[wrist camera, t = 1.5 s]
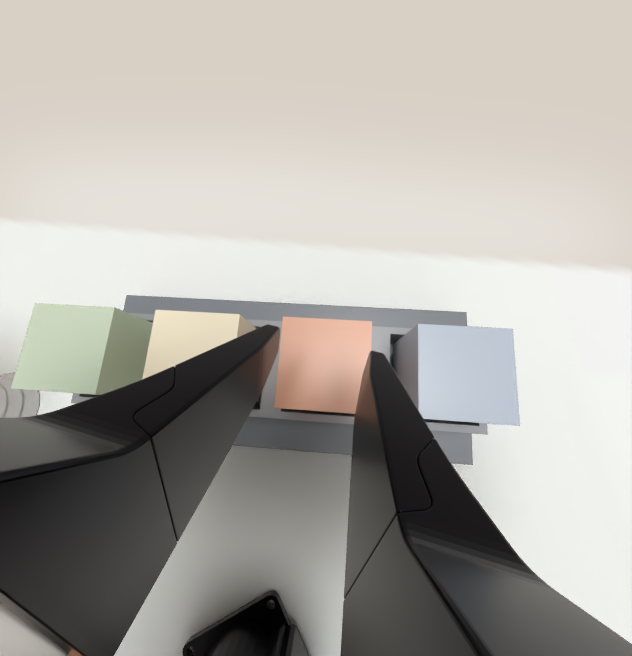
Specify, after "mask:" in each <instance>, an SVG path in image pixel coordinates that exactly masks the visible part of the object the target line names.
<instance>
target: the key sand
mask: <svg viewBox="0 0 632 656" xmlns="http://www.w3.org/2000/svg"><path fill="white" fill-rule="evenodd" d="M255 329H256V328H255V327H254V326H253V325H252V324H250V323H249V322H248V321H247V320H246V319H245V318H244V317H242V316H241V315H240V314H227V313H208V312H190V311H171V310H155V315H154V320H153V326H152V331H151V336H150V341H149V347H148V352H147V357H146V362H145V368H144V373H143V378H142V379H144V378H147V377H149V376H151V375H154V374H156V373H159V372H161V371H163V370H165V369H168V368H170V367H172V366H174V367H175V365H177V364H179V363H181V362H184V361H186V360H188V359H190V358H192V357H195V356H197V355H199V354H201V353H204V352H206V351H208V350H210V349H213V348H215V347H217V346H219V345H222V344H224V343H226V342H228V341H230V340H233V339H235V338H237V337H239V336H242V335H244V334H246V333H248V332H251V331H253V330H255ZM257 402H259V399H258V400H257Z"/></svg>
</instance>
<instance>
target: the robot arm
mask: <svg viewBox="0 0 632 656" xmlns="http://www.w3.org/2000/svg"><path fill="white" fill-rule="evenodd" d="M279 340H280V328H279V327H278V326H274V325H270V324H266V325H264V326H262V327H260V328H257V329H255V330H253V331H251V332H248V333H246V334H244V335H242V336H239V337H237V338H235V339H233V340H230V341H228V342H226V343H224V344H222V345H219V346H217V347H215V348H213V349H210V350H208V351H206V352H204V353H201V354H199V355H197V356H195V357H192V358H190V359H188V360H186V361H184V362H181V363H179V364H177V365H175V367H174V366H172V367H170V368H168V369H165V370H163V371H161V372H159V373H156V374H154V375H151V376H149V377H147V378H144V379H142V380H139V381H137V382H134V383H132V384H129V385H126V386H124V387H121V388H118V389H116V390H113V391H110V392H107V393H104V394H102V395H99V396H96V397H93V398H91V399H88V400H85V401H82V402H79V403H77V404H74V405H71V406H68V407H66V408H63V409H60V410H57V411H54V412H50V413H46V414H42V415H36V416H30V417H18V418H0V656H114V654H115V652H116V651H117V649H118V647H119V645H120V644H121V642H122V640H123V638H124V637H125V635H126V633H127V631H128V629H129V628H130V626H131V624H132V622H133V621H134V619H135V617H136V615H137V613H138V612H139V610H140V608H141V606H142V605H143V603H144V601H145V599H146V597H147V596H148V594H149V592H150V590H151V589H152V587H153V585H154V583H155V582H156V580H157V578H158V576H159V574H160V573H161V571H162V569H163V567H164V566H165V564H166V562H167V560H168V558H169V557H170V555H171V553H172V551H173V550H174V548H175V546H176V544H177V541H178V540H179V539H180V537H181V535H182V533H183V532H184V530H185V528H186V526H187V524H188V523H189V521H190V519H191V517H192V516H193V514H194V512H195V510H196V509H197V507H198V505H199V503H200V501H201V500H202V498H203V496H204V494H205V493H206V491H207V489H208V487H209V486H210V484H211V482H212V480H213V478H214V477H215V475H216V473H217V471H218V470H219V468H220V466H221V464H222V462H223V461H224V459H225V457H226V455H227V454H228V452H229V450H230V448H231V447H232V445H233V443H234V441H235V439H236V438H237V436H238V434H239V432H240V431H241V429H242V427H243V425H244V423H245V422H246V420H247V418H248V416H249V415H250V413H251V411H252V409H253V408H254V406H255V404H256V402H257V400H258V399H259V397H260V395H261V393H262V390H263V388H264V386H265V383H266V381H267V378H268V376H269V373H270V371H271V368H272V366H273V364H274V361H275V359H276V356H277V353H278V349H279ZM434 438H435V437H434V435H433V434H432V432H431V430H430V429H429V427H428V425H427V424H426V422H425V420H424V419H423V417H422V415H421V414H420V412H419V410H418V409H417V407H416V405H415V404H414V402H413V401H412V399H411V397H410V396H409V394H408V392H407V391H406V389H405V387H404V386H403V384H402V382H401V381H400V379H399V377H398V376H397V374H396V372H395V371H394V369H393V368H392V366H391V364H390V363H389V361H388V359H387V358H386V356H385V354H384V353H381V352H377V351H373V350H372V351H370V353H369V355H368V358H367V362H366V365H365V368H364V371H363V375H362V380H361V385H360V390H359V396H358V401H357V406H356V411H355V418H354V428H353V445H352V463H351V481H350V499H349V517H348V535H347V553H346V570H345V588H344V599H345V600H344V605H343V623H342V641H341V656H632V644H631V643H629V642H628V641H627V640H625V639H624V638H622V637H621V636H619V635H618V634H617V633H615V632H614V631H612V630H611V629H610V628H608V627H607V626H605V625H604V624H602V623H601V622H600V621H598V620H597V619H595V618H594V617H592V616H591V615H590V614H588V613H587V612H585V611H584V610H582V609H581V608H580V607H578V606H577V605H575V604H574V603H573V602H571V601H570V600H568V599H567V598H565V597H564V596H563V595H561V594H560V593H558V592H557V591H555V590H554V589H553V588H551V587H550V586H549V585H547V584H546V583H545V582H544V581H543V580H542V579H540V578H539V577H538V576H537V575H536V574H535V573H534V572H533V571H532V570H531V569H530V568H529V567H528V566H527V565H526V564H525V563H524V561H523V560H522V559H521V558H520V557H519V556H518V554H517V553H516V552H515V551H514V549H513V548H512V547H511V545H510V544H509V543H508V541H507V540H506V539H505V537H504V536H503V535H502V533H501V532H500V531H499V529H498V528H497V526H496V525H495V524H494V522H493V521H492V520H491V518H490V517H489V516H488V514H487V513H486V512H485V510H484V509H483V508H482V506H481V505H480V503H479V502H478V501H477V499H476V498H475V497H474V495H473V494H472V493H471V491H470V490H469V488H468V487H467V486H466V484H465V483H464V481H463V480H462V479H461V477H460V476H459V474H458V473H457V472H456V470H455V469H454V467H453V465H452V464H451V462H450V461H449V459H448V458H447V456H446V455H445V453H444V451H443V450H442V448H441V447H440V445H439V443H438V442H437V440H436V439H434ZM269 600H273V601H274V602H275V604H274V605H271V604H269V602H268V601H269ZM190 647H193V648H194V650H195V651H191V650H190ZM183 656H309V655H308V653H307V651H306V648H305V646H304V644H303V641H302V639H301V637H300V634H299V632H298V630H297V627H296V626H295V625H293V624H291V623H290V621H289V618H288V616H287V613H286V611H285V609H284V606H283V604H282V602H281V599H280V597H279V595H278V594H277V593H276V592H275V591H270V592H268V593H266V594H264V595H263V596H261V597H259V598H257V599H256V600H254V601H252V602H251V603H249V604H247V605H245V606H244V607H242V608H240V609H239V610H237V611H235V612H233V613H232V614H230V615H228V616H227V617H225V618H223V619H222V620H220V621H218V622H216V623H215V624H213V625H211V626H210V627H208V628H206V629H204V630H203V631H201V632H199V633H198V634H196V635H194V636H192V637H191V638H190V639H188V641H187V642H186V644H185V646H184V648H183Z"/></svg>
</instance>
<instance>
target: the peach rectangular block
mask: <svg viewBox="0 0 632 656" xmlns="http://www.w3.org/2000/svg"><path fill="white" fill-rule="evenodd" d="M371 344H372V321H357V320H338V319H319V318H300V317H283V321H282V332H281V342H280V353H279V363H278V374H277V384H276V395H275V406H274V408H284V409H297V410H311V411H324V412H338V413H352V414H355V411H356V406H357V401H358V396H359V390H360V385H361V380H362V375H363V371H364V368H365V365H366V362H367V358H368V355H369V353H370V351H371Z"/></svg>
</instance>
